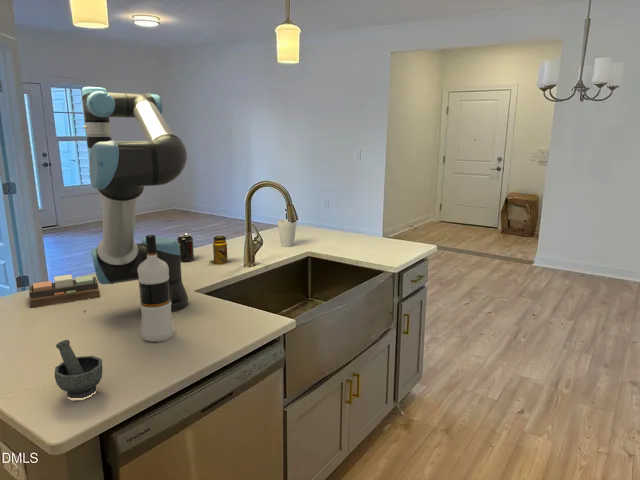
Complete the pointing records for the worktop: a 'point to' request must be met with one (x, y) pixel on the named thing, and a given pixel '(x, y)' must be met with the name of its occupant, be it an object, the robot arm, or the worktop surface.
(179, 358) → the worktop surface
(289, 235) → the foam cup
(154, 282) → the vodka
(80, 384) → the mortar and pestle
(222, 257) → the condiment
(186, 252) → the beverage can
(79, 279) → the sage key
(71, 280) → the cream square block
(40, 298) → the keypad
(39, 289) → the terracotta key
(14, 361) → the worktop surface
